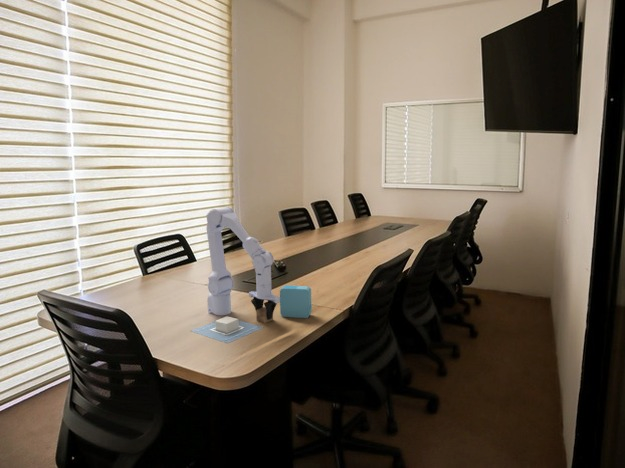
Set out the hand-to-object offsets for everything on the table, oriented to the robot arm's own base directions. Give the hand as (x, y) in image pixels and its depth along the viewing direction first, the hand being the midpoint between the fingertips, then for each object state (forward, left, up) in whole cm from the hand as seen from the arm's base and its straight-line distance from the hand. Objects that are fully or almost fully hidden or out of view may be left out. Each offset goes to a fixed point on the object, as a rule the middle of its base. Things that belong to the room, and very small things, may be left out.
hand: (264, 317), depth 173 cm
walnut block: (0, 0, -2) cm, 2 cm away
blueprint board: (-5, -15, -2) cm, 16 cm away
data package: (+5, +13, -2) cm, 14 cm away
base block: (-5, -15, -1) cm, 16 cm away
